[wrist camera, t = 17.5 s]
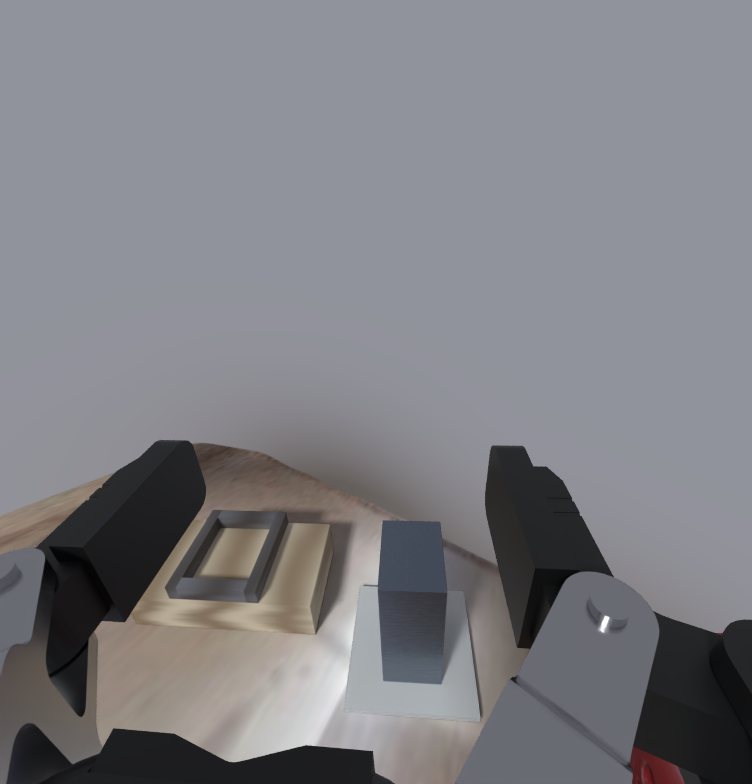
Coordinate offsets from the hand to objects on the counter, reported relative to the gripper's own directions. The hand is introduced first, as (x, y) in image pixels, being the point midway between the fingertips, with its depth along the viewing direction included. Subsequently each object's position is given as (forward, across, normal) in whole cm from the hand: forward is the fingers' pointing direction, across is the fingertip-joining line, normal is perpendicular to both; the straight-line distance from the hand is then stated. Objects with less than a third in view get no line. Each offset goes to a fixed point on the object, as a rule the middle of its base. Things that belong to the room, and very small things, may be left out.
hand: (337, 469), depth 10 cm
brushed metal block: (+11, -2, +27) cm, 30 cm away
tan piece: (+16, +15, +28) cm, 36 cm away
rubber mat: (+11, -2, +28) cm, 30 cm away
